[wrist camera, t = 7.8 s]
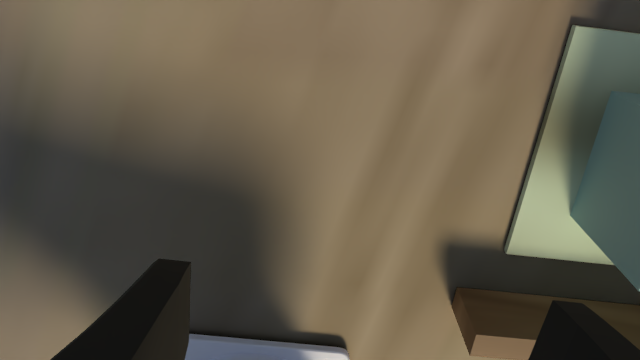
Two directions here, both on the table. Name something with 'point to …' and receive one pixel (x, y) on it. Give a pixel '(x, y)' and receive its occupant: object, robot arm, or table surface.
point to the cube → (614, 186)
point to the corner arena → (557, 198)
